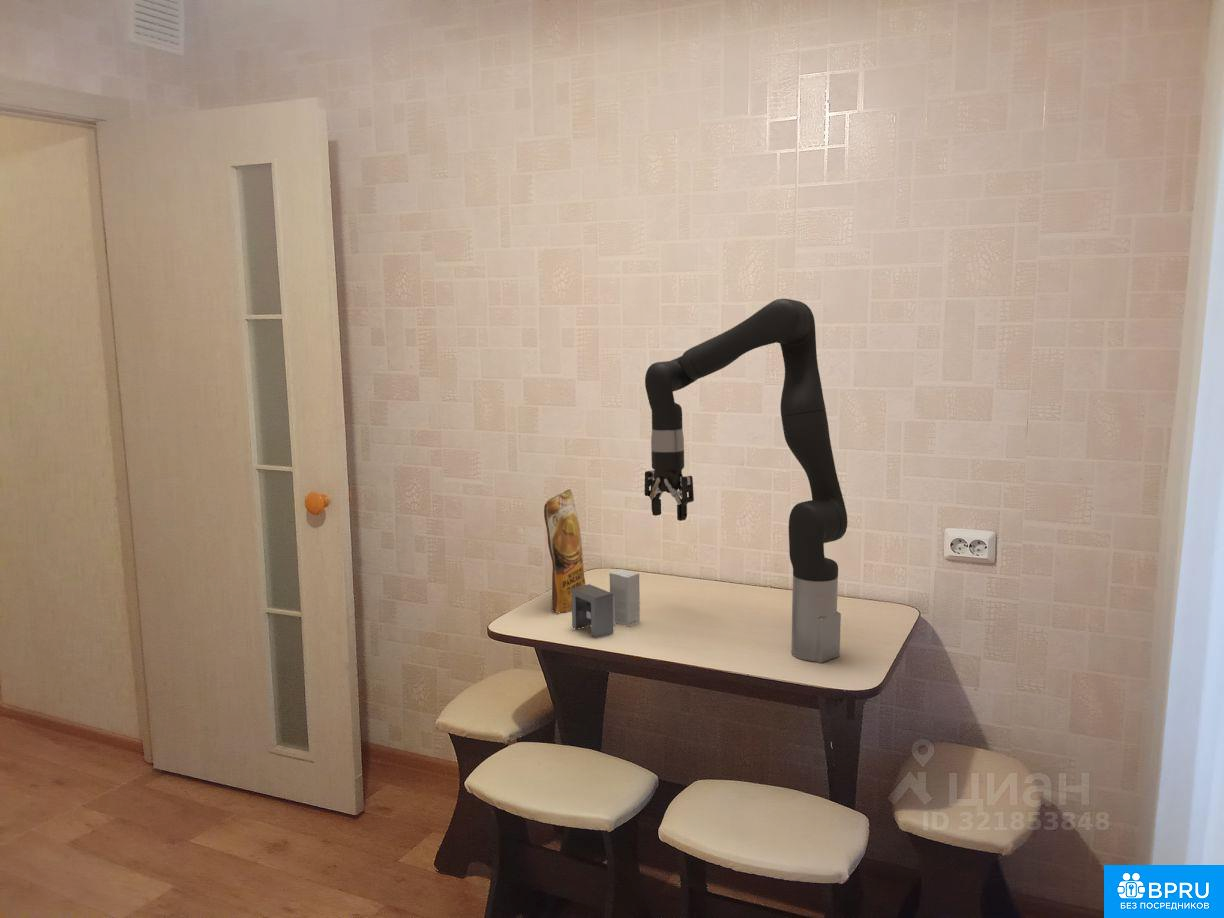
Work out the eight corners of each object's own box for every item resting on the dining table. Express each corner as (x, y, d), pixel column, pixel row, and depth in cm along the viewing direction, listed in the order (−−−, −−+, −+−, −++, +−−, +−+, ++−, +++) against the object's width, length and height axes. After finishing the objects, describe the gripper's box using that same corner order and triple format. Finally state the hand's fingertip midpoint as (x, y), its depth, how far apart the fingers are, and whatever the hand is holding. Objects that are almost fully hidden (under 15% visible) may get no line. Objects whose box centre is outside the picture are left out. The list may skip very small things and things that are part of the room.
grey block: (615, 626, 211) (615, 596, 210) (595, 631, 208) (594, 602, 207) (590, 615, 219) (590, 586, 218) (570, 620, 215) (569, 591, 214)
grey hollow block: (634, 627, 212) (634, 587, 211) (595, 638, 205) (594, 597, 204) (603, 614, 222) (603, 576, 220) (564, 624, 215) (564, 585, 213)
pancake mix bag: (537, 614, 222) (534, 500, 218) (572, 591, 239) (569, 486, 235) (562, 617, 219) (559, 503, 215) (595, 594, 237) (593, 487, 232)
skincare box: (640, 622, 215) (640, 573, 213) (628, 627, 212) (627, 577, 210) (621, 617, 220) (621, 568, 218) (609, 621, 216) (608, 572, 214)
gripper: (701, 449, 208) (702, 519, 211) (658, 444, 219) (660, 511, 222) (676, 453, 204) (678, 524, 206) (635, 447, 215) (636, 515, 217)
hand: (669, 517), depth 214 cm, fingers open, 8 cm apart
